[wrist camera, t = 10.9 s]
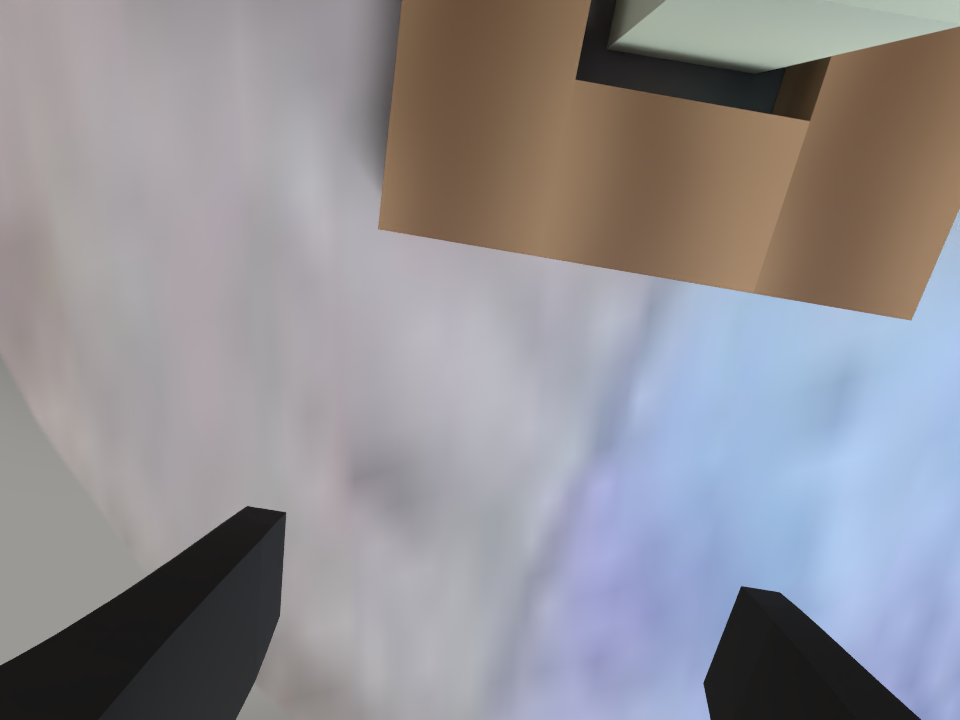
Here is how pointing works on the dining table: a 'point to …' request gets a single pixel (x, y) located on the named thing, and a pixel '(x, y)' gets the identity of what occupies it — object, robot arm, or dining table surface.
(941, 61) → the socket block
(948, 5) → the square peg
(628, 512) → the dining table surface
